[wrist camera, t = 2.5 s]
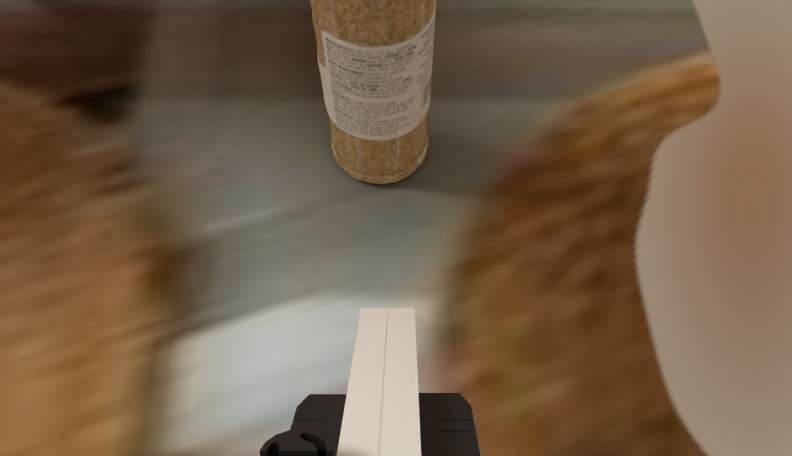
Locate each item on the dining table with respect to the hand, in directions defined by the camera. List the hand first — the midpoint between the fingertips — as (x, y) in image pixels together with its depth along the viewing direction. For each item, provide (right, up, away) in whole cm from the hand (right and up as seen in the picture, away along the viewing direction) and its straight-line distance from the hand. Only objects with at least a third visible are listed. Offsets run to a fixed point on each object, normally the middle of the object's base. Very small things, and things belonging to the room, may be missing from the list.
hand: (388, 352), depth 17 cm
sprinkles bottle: (0, +7, +11) cm, 13 cm away
